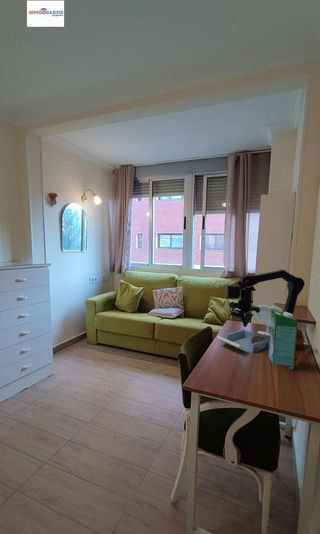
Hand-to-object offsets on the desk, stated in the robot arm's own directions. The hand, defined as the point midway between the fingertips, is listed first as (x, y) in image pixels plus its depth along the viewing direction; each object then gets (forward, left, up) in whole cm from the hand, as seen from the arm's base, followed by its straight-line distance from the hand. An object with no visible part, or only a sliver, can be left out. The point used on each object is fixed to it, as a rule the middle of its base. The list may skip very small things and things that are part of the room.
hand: (245, 326), depth 135 cm
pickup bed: (-1, -2, -11) cm, 11 cm away
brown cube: (-5, -4, -10) cm, 12 cm away
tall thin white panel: (-1, +7, -10) cm, 12 cm away
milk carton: (-22, +2, -12) cm, 25 cm away
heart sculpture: (+4, -30, -12) cm, 32 cm away
